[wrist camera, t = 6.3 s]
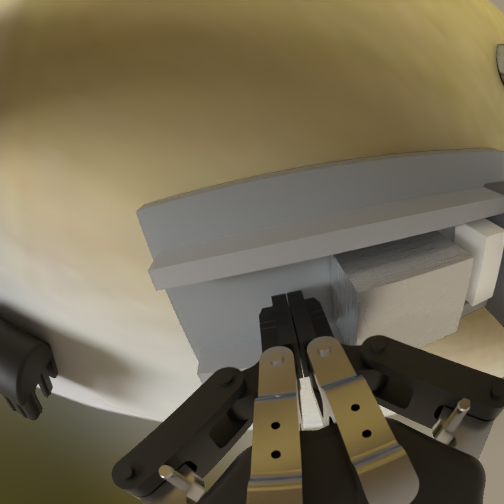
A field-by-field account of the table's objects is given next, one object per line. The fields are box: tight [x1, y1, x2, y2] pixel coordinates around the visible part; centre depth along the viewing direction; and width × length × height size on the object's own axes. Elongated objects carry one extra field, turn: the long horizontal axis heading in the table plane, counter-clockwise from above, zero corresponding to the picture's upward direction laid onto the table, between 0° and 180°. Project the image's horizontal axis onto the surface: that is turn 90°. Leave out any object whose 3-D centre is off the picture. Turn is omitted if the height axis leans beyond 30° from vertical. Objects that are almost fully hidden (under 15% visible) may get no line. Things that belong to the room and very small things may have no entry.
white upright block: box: [454, 218, 504, 306], centre depth 12 cm, size 4×2×3 cm, turn 12°
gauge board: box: [136, 149, 504, 384], centre depth 12 cm, size 12×22×6 cm, turn 102°
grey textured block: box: [329, 231, 474, 348], centre depth 12 cm, size 4×8×4 cm, turn 102°
